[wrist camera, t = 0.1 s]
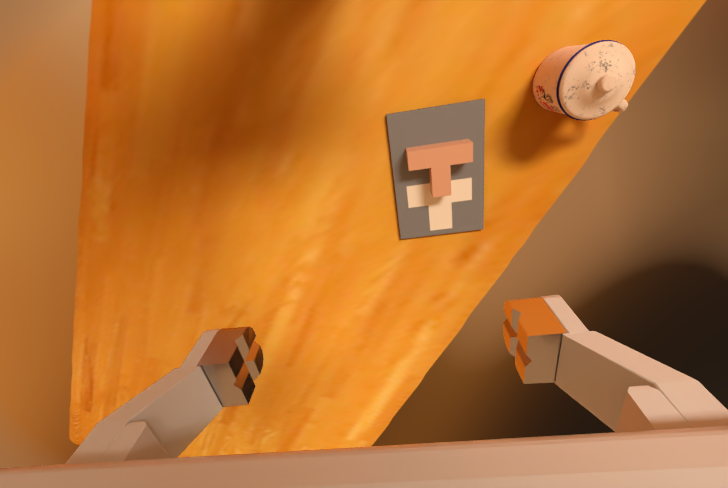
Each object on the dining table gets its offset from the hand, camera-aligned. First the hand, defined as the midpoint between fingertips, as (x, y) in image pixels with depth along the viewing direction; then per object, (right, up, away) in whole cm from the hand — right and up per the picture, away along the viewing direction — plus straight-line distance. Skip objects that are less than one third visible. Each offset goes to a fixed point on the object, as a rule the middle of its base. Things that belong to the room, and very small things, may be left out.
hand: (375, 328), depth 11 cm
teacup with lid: (+30, +27, +39) cm, 56 cm away
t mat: (+12, +14, +46) cm, 50 cm away
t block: (+12, +15, +45) cm, 49 cm away
